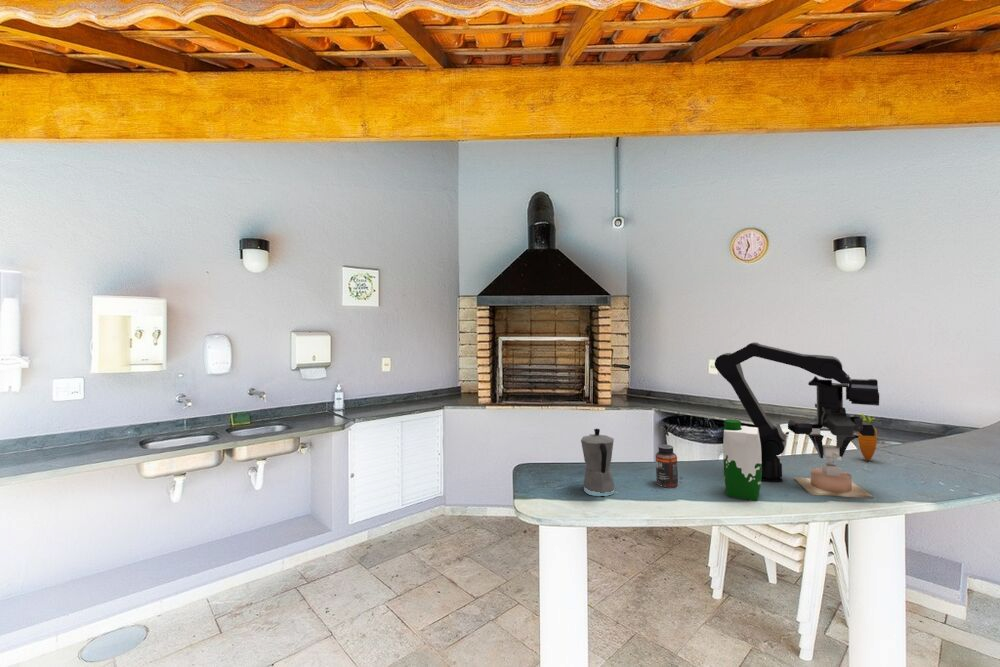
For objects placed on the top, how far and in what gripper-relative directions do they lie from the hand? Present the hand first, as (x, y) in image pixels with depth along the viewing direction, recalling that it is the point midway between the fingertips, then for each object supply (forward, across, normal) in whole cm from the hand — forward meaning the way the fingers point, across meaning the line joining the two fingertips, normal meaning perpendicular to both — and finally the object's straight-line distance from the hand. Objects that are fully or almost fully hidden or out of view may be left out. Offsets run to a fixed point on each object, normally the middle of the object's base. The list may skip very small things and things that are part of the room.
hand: (830, 458), depth 119 cm
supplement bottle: (+9, -43, -4) cm, 44 cm away
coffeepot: (+9, -62, -13) cm, 64 cm away
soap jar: (+8, 0, 0) cm, 8 cm away
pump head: (+2, 0, -1) cm, 2 cm away
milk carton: (+9, -24, -8) cm, 27 cm away
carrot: (+9, +21, +26) cm, 35 cm away
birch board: (+8, 0, 0) cm, 8 cm away
